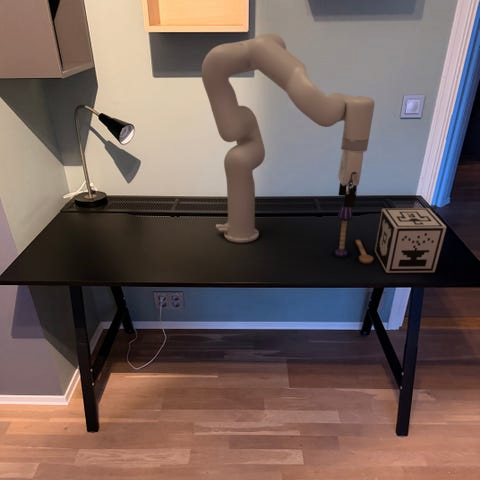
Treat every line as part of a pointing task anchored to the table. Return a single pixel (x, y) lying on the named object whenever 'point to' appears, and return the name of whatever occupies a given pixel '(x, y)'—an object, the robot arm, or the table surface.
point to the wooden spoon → (363, 253)
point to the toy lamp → (343, 229)
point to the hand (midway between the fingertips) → (346, 200)
